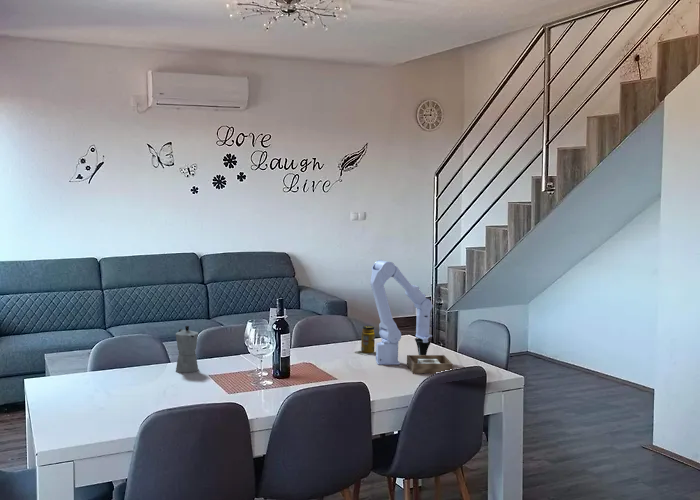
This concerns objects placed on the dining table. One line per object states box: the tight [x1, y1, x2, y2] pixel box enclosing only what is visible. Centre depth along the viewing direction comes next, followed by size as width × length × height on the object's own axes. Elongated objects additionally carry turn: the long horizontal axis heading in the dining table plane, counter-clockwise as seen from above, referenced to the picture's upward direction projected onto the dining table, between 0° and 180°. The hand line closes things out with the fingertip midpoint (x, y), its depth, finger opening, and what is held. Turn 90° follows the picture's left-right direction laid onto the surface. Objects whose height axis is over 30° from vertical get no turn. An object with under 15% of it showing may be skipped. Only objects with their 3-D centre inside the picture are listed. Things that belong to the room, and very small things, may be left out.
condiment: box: [354, 325, 376, 356], centre depth 320 cm, size 7×8×12 cm
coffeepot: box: [175, 325, 199, 374], centre depth 282 cm, size 15×9×18 cm, turn 33°
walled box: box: [406, 354, 454, 375], centre depth 292 cm, size 16×16×4 cm
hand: (422, 355), depth 308 cm, fingers open, 4 cm apart
